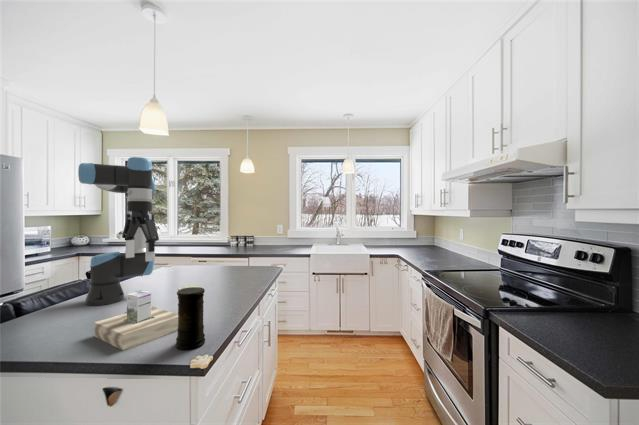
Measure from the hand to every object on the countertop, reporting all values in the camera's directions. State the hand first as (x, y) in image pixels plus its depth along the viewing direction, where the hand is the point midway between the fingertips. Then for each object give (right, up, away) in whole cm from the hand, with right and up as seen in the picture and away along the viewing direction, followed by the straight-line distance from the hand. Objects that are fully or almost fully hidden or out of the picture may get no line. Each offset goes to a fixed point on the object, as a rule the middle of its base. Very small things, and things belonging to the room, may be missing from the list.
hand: (139, 259), depth 105 cm
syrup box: (0, -27, 0) cm, 27 cm away
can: (+10, -27, +18) cm, 34 cm away
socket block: (0, -27, 0) cm, 27 cm away
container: (+23, -27, -9) cm, 36 cm away
